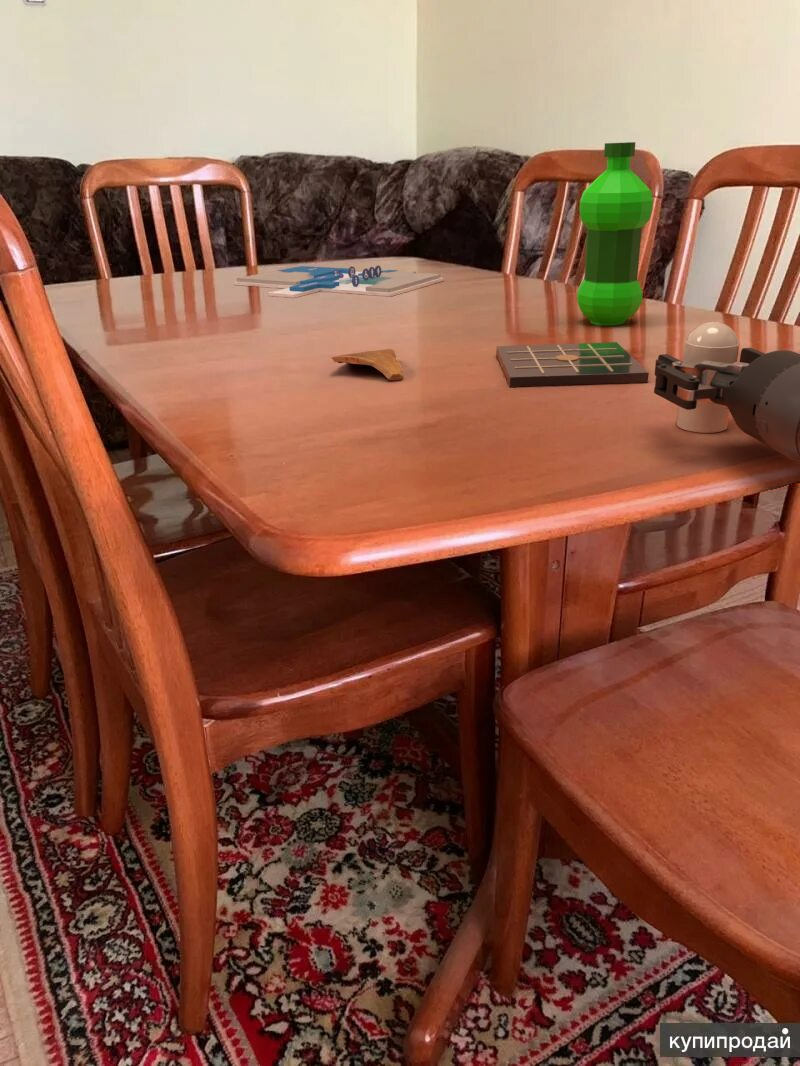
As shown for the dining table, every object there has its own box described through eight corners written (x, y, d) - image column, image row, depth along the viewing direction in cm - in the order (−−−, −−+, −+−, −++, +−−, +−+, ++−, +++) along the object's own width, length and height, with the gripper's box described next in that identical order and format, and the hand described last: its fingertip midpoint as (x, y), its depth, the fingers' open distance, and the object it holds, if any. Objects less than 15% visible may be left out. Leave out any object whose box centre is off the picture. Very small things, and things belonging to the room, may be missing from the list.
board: (616, 351, 110) (617, 341, 110) (648, 382, 96) (649, 371, 95) (496, 354, 110) (496, 345, 110) (509, 387, 96) (510, 375, 95)
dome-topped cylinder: (717, 417, 83) (731, 316, 79) (734, 432, 79) (750, 326, 75) (669, 418, 83) (680, 318, 79) (684, 433, 79) (696, 328, 75)
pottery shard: (401, 382, 100) (400, 362, 99) (326, 381, 101) (325, 361, 100) (413, 361, 109) (413, 342, 108) (345, 360, 110) (344, 341, 109)
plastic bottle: (636, 315, 131) (650, 141, 121) (645, 328, 122) (662, 141, 111) (571, 315, 132) (580, 143, 122) (576, 329, 123) (586, 144, 112)
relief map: (366, 303, 149) (365, 283, 148) (206, 290, 169) (204, 272, 168) (449, 279, 172) (449, 261, 170) (299, 270, 192) (298, 254, 190)
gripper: (894, 355, 65) (775, 317, 79) (725, 369, 63) (635, 327, 77) (874, 445, 68) (763, 393, 83) (713, 461, 66) (629, 404, 81)
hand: (701, 361), depth 80 cm, fingers open, 8 cm apart
